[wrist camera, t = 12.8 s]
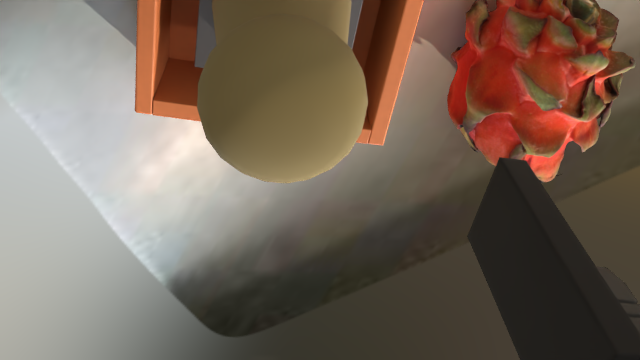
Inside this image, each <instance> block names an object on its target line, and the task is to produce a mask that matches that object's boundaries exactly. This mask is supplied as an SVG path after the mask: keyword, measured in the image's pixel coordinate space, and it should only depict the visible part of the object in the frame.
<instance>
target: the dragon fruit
mask: <svg viewBox="0 0 640 360" xmlns="http://www.w3.org/2000/svg"><path fill="white" fill-rule="evenodd" d="M496 5H497V8H496V10H495V11H490V12H488V10H487V8H488V3H487V1H486V0H477V1H475V2H474V4H473V5H472V7H471V9H470V10H469V11H468V12H467V13H466V32H465V38H466V40H467V41H468V42H467V43H466V44H465V45H464V46H463V47H462V48H461V47H458V48H457V49H456V51H455V52H453V53H452V54H451V58H452V59H453V61H454V62H455V63H456V64H457V66H458V68H457V71H456V74H455V77H454V79H453V81H452V83H451V86H450V89H449V94H448V99H447V102H448V111H449V115H450V118H451V119H452V121H453V123H454V125H455V126H456V127H457V129H460V130H461V132H462V134H463V135H464V137H465V138H466V140H467V141H468V144H469V143H470V144H469V145H471V146H470V147H471V148H472V149H473V150H474V151H476V152H478V151H479V150H480V151H481V152H482V153H483V155H484V156H485V158H486V160H487V161H488V162H490V163H491V164H493V165H495V166H496V165H497V162H498V160H499V157H502V158H511V159H519V160H526V161H527V163H528V164H529V166H530V167H531V169H532V170H533V172H534V173H535V175H536V176H537V178H538V179H539V181H540V183H543V182H547V181H550V180H552V179H553V178H554V177H555V176H558V175H557V173H558V170H559V165H560V162H561V160H562V159H563V156H564V149H565V147H566V144H567V143H568V142H569V141H572V140H573V141H574V142H575V143H577V144H579V145H580V146H581V149H582V152H584V151H585V150H586V149H588V148H589V147H591V146H593V145H594V144H595V143H596V141H597V139H598V136H599V131H600V127H601V126H603V125H604V124H605V123H606V121H607V119H608V117H609V116H610V113H611V107H612V102H613V101H612V100H614V99H615V98H617V97H618V95H619V88H620V84H621V80H622V79H623V74H622V73H623V72H626V71H628V70H630V69H631V68H634V67H635V60H634V59H633V58H632V57H631V56H628V55H626V54H625V53H623V52H615V51H611V49H612V44H613V43H614V42H615V39H616V35H617V32H616V30H617V26H618V22H619V20H618V18H616V17H615V16H614V15H613V14H612V13H610V12H609V11H607V10H605V9H601V8H600V7H599V5H598V3H597V2H596V1H595V0H496ZM460 48H461V49H460ZM600 117H601V121H600V125H599V127H598V123H597V119H598V118H600ZM472 141H473V142H472ZM478 149H479V150H478ZM561 175H562V174H561Z"/></svg>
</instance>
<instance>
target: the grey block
mask: <svg viewBox="0 0 640 360" xmlns="http://www.w3.org/2000/svg"><path fill="white" fill-rule="evenodd" d="M362 4H363V0H351V13H350V23H349V34H348V46H349V47H350V48H351V49H352V48H353V44H354V40H355V35H356V31H357V26H358V22H359V17H360V13H361V9H362ZM215 46H216V36H215V28H214V20H213V11H212V0H199V10H198V23H197V36H196V49H195V62H194V66H195V67H200V68H204V66H205V63H206V61H207V59H208V56H209V54H210V52H211V51H212V50H213V49H214V48H215Z"/></svg>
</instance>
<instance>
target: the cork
mask: <svg viewBox="0 0 640 360" xmlns="http://www.w3.org/2000/svg"><path fill="white" fill-rule="evenodd" d="M212 11H213V20H214V28H215V36H216V46H215V48H214V49H213V50H212V51H211V52H210V54H209V56H208V59H207V61H206V63H205V66H204V68H203V71H202V73H201V76H200V79H199V82H198V99H197V109H198V113H199V116H200V119H201V122H202V126H203V129H204V132H205V135H206V138H207V140H208V141H209V142H210V144H211V145H212V147H213V148H214V149H215V151H216V152H217V153H218V155H219V156H220V157H221V158H222V159H223V160H225V161H226V162H227V163H229V164H230V165H232V166H233V167H234V168H236V169H237V170H238V171H240V172H242V173H244V174H246V175H249V176H252V177H254V178H257V179H260V180H262V181H267V182H278V183H291V182H297V181H303V180H308V179H310V178H313V177H315V176H317V175H319V174H321V173H323V172H325V171H328V170H329V169H331V168H333V167H334V166H335V165H336V164H337V163H338V162H339V161H341V160H342V159H343V158H344V157H345V156H346V155H347V154H349V153H350V151H351V149H352V148H353V146H354V144H355V143H356V141H357V139H358V138H359V136H360V134H361V132H362V128H363V124H364V120H365V115H366V110H367V106H368V97H367V89H366V82H365V77H364V73H363V70H362V68H361V66H360V65H359V63H358V61H357V59H356V57H355V55H354V53H353V51H352V49H351V48H350V47H349V46H348V34H349V23H350V13H351V0H212Z"/></svg>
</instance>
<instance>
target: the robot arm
mask: <svg viewBox="0 0 640 360" xmlns="http://www.w3.org/2000/svg"><path fill="white" fill-rule="evenodd" d="M468 239H469V241H470V243H471V246H472V248H473V250H474V252H475V255H476V257H477V260H478V262H479V264H480V267H481V269H482V271H483V274H484V276H485V278H486V281H487V283H488V285H489V288H490V290H491V292H492V295H493V297H494V299H495V302H496V304H497V306H498V309H499V311H500V313H501V316H502V318H503V320H504V322H505V325H506V327H507V330H508V332H509V334H510V337H511V339H512V341H513V344H514V346H515V348H516V351H517V353H518V355H519V358H520V360H640V305H639V304H637V302H638V301H637V299H636V298H635V297H634V295H633V294H632V292H631V291H630V289H629V288H628V287H627V285H626V284H625V283H624V282H623V281H622V280H621V279H620V278H618V277H617V276H616V275H615V274H613V273H612V272H611V271H610V270H609V269H608V268H606V267H596V266H595V264H594V263H593V261H592V260H591V258H590V257H589V255H588V254H587V252H586V251H585V249H584V248H583V246H582V245H581V243H580V242H579V240H578V239H577V237H576V236H575V234H574V233H573V231H572V230H571V228H570V227H569V225H568V224H567V222H566V221H565V219H564V218H563V216H562V214H561V213H560V212H559V210H558V208H557V207H556V205H555V204H554V202H553V201H552V199H551V198H550V196H549V195H548V193H547V192H546V190H545V189H544V187H543V186H542V184H541V183H540V181H539V179H538V178H537V176H536V175H535V173H534V172H533V170H532V169H531V167H530V166H529V164H528V163H527V161H526V160H519V159H511V158H502V157H499V160H498V162H497V165H496V167H495V170H494V172H493V175H492V177H491V179H490V182H489V184H488V187H487V189H486V192H485V194H484V197H483V199H482V202H481V204H480V207H479V209H478V212H477V214H476V216H475V219H474V221H473V224H472V226H471V229H470V231H469V234H468Z"/></svg>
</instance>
